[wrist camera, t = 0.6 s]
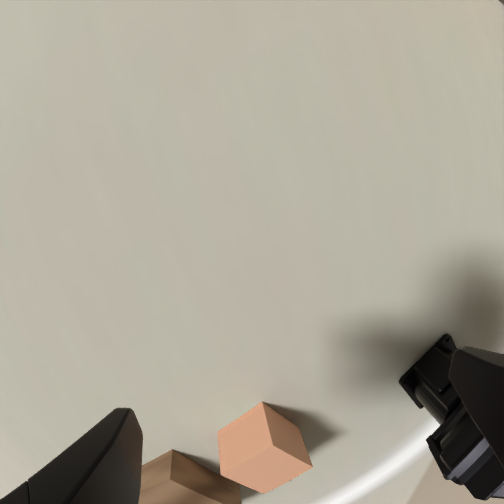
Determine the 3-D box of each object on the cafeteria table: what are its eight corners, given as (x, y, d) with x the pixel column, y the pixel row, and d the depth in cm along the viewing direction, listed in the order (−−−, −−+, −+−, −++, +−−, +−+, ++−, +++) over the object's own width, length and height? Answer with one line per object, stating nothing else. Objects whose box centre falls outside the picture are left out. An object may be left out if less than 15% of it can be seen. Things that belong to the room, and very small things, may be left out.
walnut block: (238, 482, 25) (242, 510, 21) (183, 505, 26) (182, 531, 22) (172, 446, 23) (169, 479, 19) (120, 474, 23) (114, 501, 20)
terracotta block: (298, 426, 24) (313, 467, 19) (255, 453, 24) (263, 493, 19) (261, 401, 22) (272, 445, 18) (217, 430, 23) (220, 474, 18)
